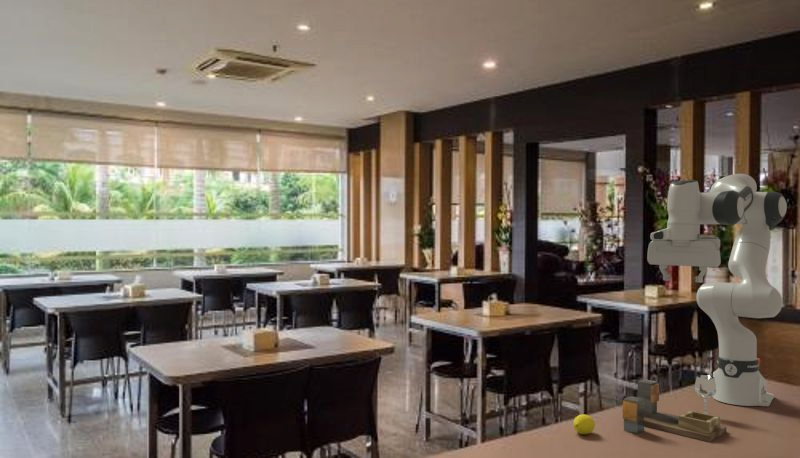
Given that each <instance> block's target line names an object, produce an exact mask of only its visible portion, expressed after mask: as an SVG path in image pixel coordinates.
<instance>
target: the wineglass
mask: <svg viewBox="0 0 800 458" xmlns="http://www.w3.org/2000/svg"><path fill="white" fill-rule="evenodd" d="M694 390H695V392H696V394H697V396H700V397H701V398H703V404H704V411H703V413H705V414H708V412H707V405H708V399H709V398H710V399H711V398H713V396H714V395H715V393H716V383H715V379H714V377H713V375H712V376H710V375H707V374H706V375H705V374H699V375H697V376H696V379H695V383H694Z"/></svg>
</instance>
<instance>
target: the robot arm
mask: <svg viewBox="0 0 800 458" xmlns="http://www.w3.org/2000/svg"><path fill="white" fill-rule="evenodd" d="M757 185H758V184H757V183H756V180H755V179H754V178H753V177H752V176H751V175H749V174H745V173H734V174H728V175H726V176H724V177H722V178H719V179H717V180H716V181H715V182H714V183H713V184H712V185H711V188H710V190H709V192H708V191H705V192H701V191H700V186H699V182H698V180H695V179H683V180H675V181H673V182H670V184H669V187H668V192H667V193H668V195H667V206H666V207H667V209H666V210H667V214H668V219H667V223H666V228H664V229H660V230H657V231H653V232H651V233H650V236H649V237H650V240H651V241H650V242H649V243H648V248H647V257H646V259H647V262H648V264H649V265H658V266H659V270H660V273H661V274H662V281H671V274H668V272H667V270H666V269H668V266H677V267H678V266H681V267H683V266H684V267H698V268H699V269H698V270H699V271H700V273H699V274H698V275H696V276H695V277H694V278H695V280H694V282H695V283H703V282H704V276H705V274H707V272H708V268H718V267H719V266H720V265H721V262H722V261H721V260H722V259H721V258H722V257H721V253H720V252H721V250H720V249H721V239H720V238H719V237H718V236H716V235H715V234H701V230H700V229H701V225H723V226H724V225H725V226H735V225H741V227H740V228H739V231H738V233H737V235H736V237H735V239H734V242H733V245H732V249H731V252H730V254H729V255H730V256H729V260H728V263H727V267H728V270H729V272H730V273H731V275H733V276H734V277H736V278H738V279H739V280H741V281H740V282H725V281H717V282H716V281H713V282H706V283H703V284H702V285H700V286H699V288H698V289H697V292H696V295H695V296H696V297H695V298H696V303H697V305H698V307H699V308H700V309H701V311H703V312H704V313H705V314H706V315H707V316H708V317H709V318H710V319H711V321H712V323H713V324H714V326H715V329H716V331H717V340H718V356H717V359H716V363H717V364H716V365H717V367H718V368H717V369H715V370H714V371H713V373H712V377H714V379H715V383H716V393H715V395H714V396H713V397H712V398H713V399H714V400H716V401H718V402H721V403H725V404H728V405H736V406H741V407H742V406H743V407H745V406H746V407H757V406H758V407H770V405H771V403H772V402H773V400H774V398H775V397H774V394H773V393H771V392H767V380H766V379H765V377H764V376H763V375H762V374H761V372H760V371H759V370H760V364H761V358H759V357H758V356H757V355H758V352H757V351H758V347H757V346H758V345H757V343H758V341H757V340H758V339H757V336H756V335H755V333H754V332H753V331H752V330H750V329H749V328H747V327H745V326H744V325H743V324H742V323H741V322H740V320H739V317H742V318H752V319H767V318H775V317H776V316H777V315H778V314H779V313H780V312H781V311H782V307H783V298H782V295H781V293H780V291H779V290H778V289H777V288H775V287H774V286H772V284H771V283H770V282H769V281H768V279H767V276H766V269H767V264H768V258H769V254H770V248H771V230H772V229H774V228H776V227H777V225H778V224H779V223H781V222H782V221H783V220H784V218H785V217H786V214H787V208H788V205H787V201H786V198H785V196H784V195H783V194H782V193H781V192H776V191H772V190H771V191H768V192H767V191H757V189H758V188H757V187H758V186H757ZM770 229H771V230H770Z"/></svg>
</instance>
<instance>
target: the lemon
mask: <svg viewBox="0 0 800 458" xmlns="http://www.w3.org/2000/svg"><path fill="white" fill-rule="evenodd" d="M572 426H573V429H574V430H575V431H576V432H577V433H578V434H580V435H589V434H591V433H592V432H593V431H594V430H595V420H594V419H593V418H592V417H591V416H590V415H588V414H579V415H577V416H575V417H574V420H573V424H572Z"/></svg>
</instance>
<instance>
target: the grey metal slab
mask: <svg viewBox="0 0 800 458" xmlns="http://www.w3.org/2000/svg"><path fill="white" fill-rule="evenodd" d="M622 419H623V431H625V432H628V433H632V434H636V435H638V434H640V433H643V432H645V426H644V399H642V398H638V396H637V397H636V396H632V395H631V396H627V397H624V398H623V400H622Z"/></svg>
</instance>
